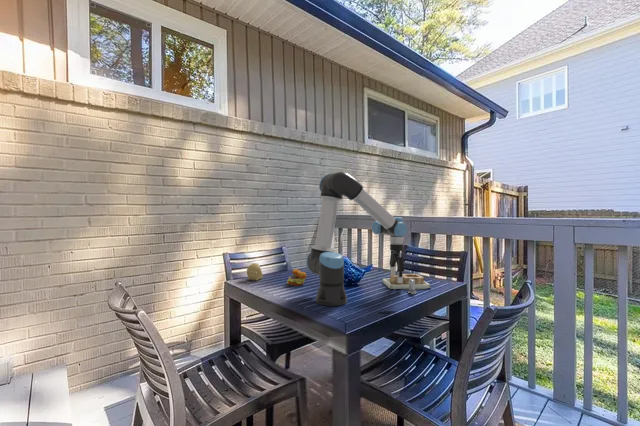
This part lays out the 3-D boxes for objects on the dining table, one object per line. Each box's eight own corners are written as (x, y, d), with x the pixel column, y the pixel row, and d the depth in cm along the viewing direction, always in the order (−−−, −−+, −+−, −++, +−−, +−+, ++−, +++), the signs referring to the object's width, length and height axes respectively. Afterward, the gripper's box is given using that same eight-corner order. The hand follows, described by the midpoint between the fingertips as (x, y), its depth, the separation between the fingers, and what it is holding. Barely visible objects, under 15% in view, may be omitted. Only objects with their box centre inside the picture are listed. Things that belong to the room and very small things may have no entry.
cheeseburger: (286, 282, 198) (290, 266, 198) (303, 286, 199) (307, 270, 200) (286, 286, 188) (290, 269, 188) (304, 290, 189) (308, 273, 190)
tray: (390, 289, 181) (390, 285, 181) (382, 282, 198) (382, 278, 198) (430, 289, 183) (430, 284, 183) (419, 282, 200) (419, 278, 200)
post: (409, 294, 172) (409, 281, 172) (405, 291, 177) (405, 279, 177) (418, 294, 172) (418, 281, 172) (414, 291, 177) (414, 278, 177)
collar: (393, 286, 185) (393, 278, 184) (388, 282, 196) (388, 274, 195) (424, 286, 186) (424, 277, 186) (417, 281, 197) (417, 273, 197)
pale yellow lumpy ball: (262, 286, 204) (267, 272, 212) (257, 274, 196) (262, 260, 204) (247, 284, 207) (253, 271, 214) (242, 273, 199) (248, 259, 206)
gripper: (410, 246, 178) (410, 285, 178) (396, 241, 202) (396, 275, 203) (396, 246, 177) (396, 285, 178) (384, 241, 202) (384, 275, 202)
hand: (396, 280), depth 190 cm, fingers open, 12 cm apart
